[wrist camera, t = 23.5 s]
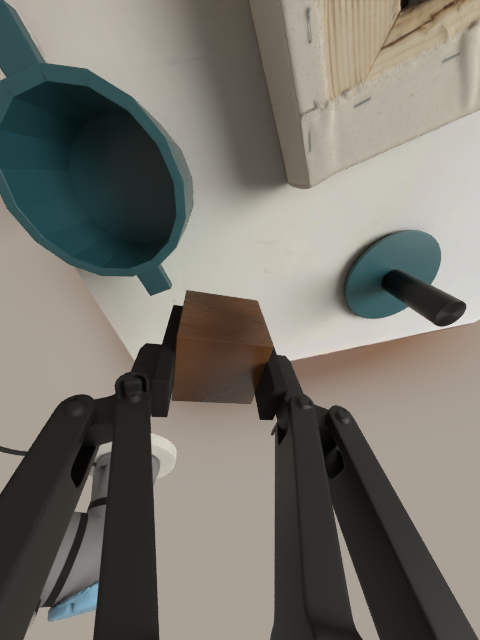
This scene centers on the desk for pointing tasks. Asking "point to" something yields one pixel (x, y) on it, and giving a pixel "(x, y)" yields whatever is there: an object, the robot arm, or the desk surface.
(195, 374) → the block
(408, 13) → the box
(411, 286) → the lid
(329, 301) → the desk surface
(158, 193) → the pot
